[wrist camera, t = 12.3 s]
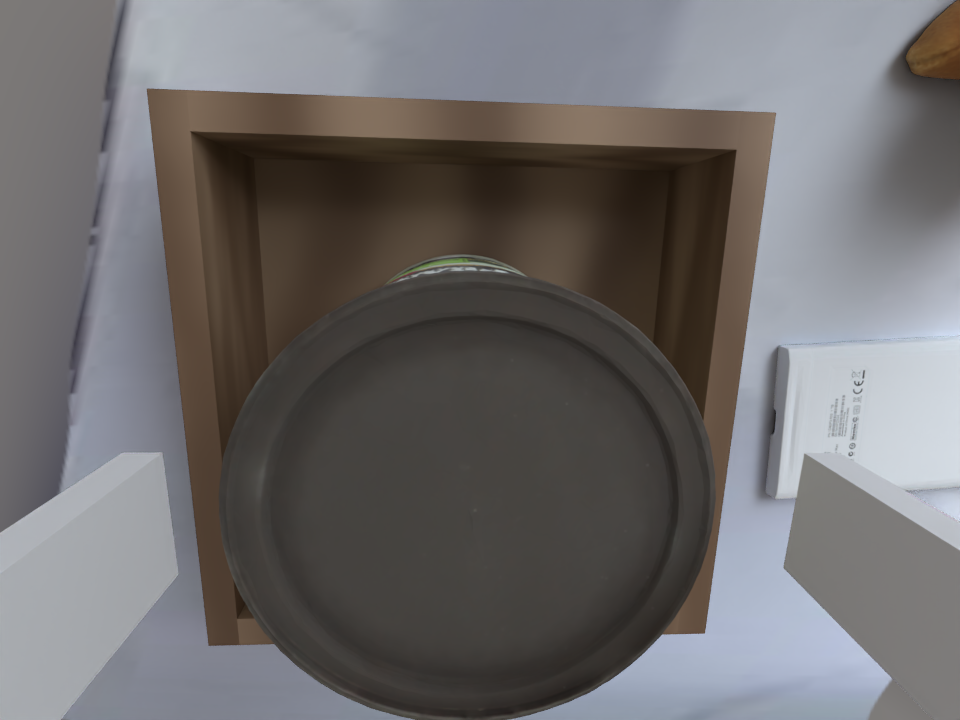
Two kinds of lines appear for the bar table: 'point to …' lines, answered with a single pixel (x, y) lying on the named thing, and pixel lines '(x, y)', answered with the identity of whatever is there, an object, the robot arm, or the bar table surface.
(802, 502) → the robot arm
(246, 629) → the walnut box
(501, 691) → the coffee can
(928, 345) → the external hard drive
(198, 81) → the bar table surface
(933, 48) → the stuffed squirrel
